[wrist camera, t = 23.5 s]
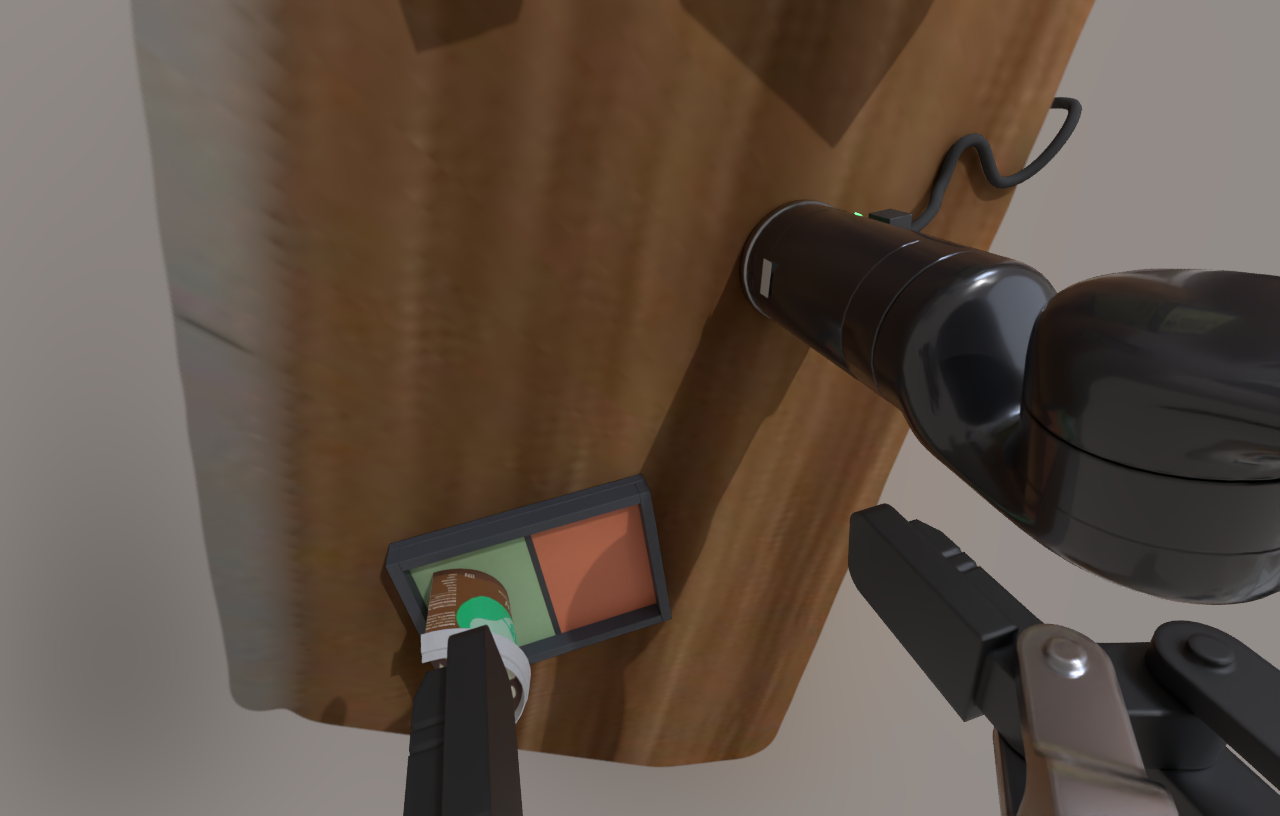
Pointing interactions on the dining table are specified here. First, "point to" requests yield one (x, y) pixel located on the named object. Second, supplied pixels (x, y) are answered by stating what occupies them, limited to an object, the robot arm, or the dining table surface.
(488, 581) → the food container
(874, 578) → the robot arm
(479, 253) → the dining table surface
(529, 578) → the sorting tray
